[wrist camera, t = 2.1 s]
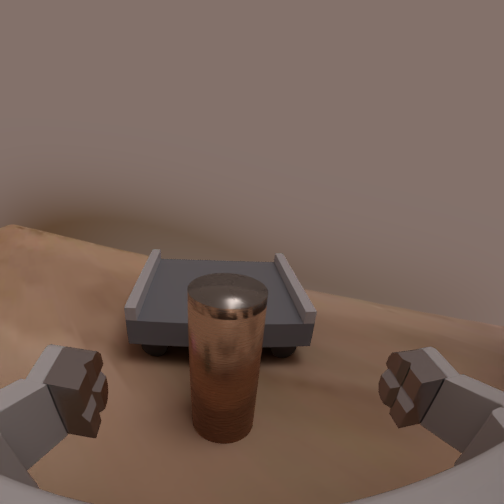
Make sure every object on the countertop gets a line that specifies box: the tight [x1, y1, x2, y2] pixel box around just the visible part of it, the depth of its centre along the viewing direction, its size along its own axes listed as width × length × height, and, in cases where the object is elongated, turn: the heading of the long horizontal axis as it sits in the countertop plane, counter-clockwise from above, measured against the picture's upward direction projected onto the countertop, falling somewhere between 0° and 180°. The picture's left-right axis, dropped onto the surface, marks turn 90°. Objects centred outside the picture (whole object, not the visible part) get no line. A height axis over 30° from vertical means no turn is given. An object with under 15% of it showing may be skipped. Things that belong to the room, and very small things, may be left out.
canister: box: [187, 273, 268, 443], centre depth 24 cm, size 6×6×14 cm
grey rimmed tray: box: [124, 249, 317, 358], centre depth 41 cm, size 20×18×7 cm
